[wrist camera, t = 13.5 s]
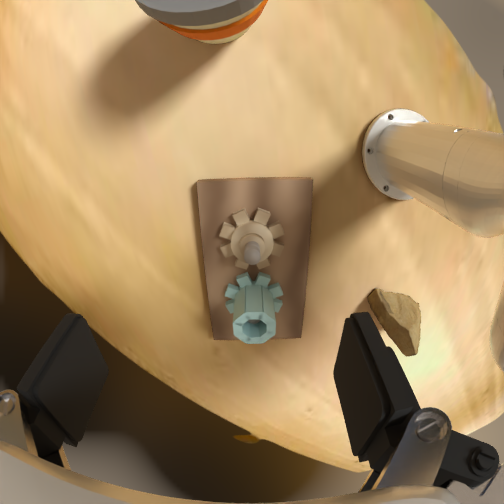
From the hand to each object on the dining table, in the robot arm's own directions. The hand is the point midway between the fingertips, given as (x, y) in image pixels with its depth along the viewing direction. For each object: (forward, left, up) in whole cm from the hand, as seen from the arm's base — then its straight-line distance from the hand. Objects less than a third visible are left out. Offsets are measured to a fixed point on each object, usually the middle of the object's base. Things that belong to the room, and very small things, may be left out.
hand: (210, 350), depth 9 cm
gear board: (-2, +12, -28) cm, 31 cm away
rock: (-25, +20, -28) cm, 43 cm away
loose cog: (-1, +16, -27) cm, 31 cm away
